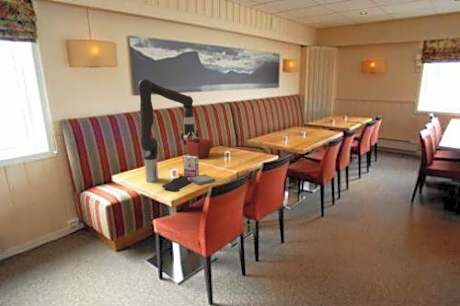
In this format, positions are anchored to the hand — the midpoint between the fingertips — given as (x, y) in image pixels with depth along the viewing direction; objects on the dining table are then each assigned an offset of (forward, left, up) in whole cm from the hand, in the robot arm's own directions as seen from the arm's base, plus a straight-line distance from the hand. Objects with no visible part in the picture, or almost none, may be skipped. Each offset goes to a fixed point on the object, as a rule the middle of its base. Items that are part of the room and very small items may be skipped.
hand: (190, 144), depth 225 cm
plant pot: (-51, +37, -26) cm, 68 cm away
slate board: (+14, +1, -26) cm, 30 cm away
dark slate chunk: (+10, -18, -27) cm, 34 cm away
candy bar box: (0, 0, -26) cm, 26 cm away
